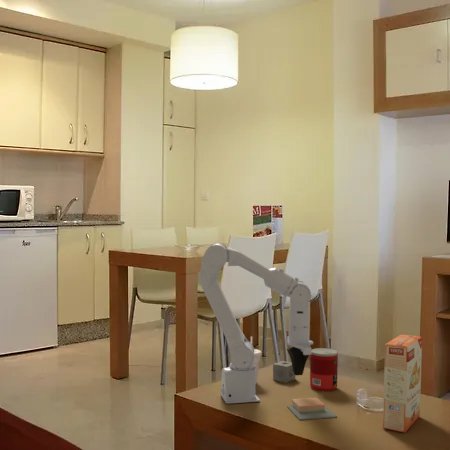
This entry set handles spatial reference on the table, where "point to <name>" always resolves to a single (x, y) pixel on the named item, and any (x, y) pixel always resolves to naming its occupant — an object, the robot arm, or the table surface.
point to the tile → (308, 405)
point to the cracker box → (402, 382)
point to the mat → (312, 414)
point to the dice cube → (283, 371)
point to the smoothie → (256, 359)
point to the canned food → (323, 369)
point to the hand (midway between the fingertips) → (298, 374)
